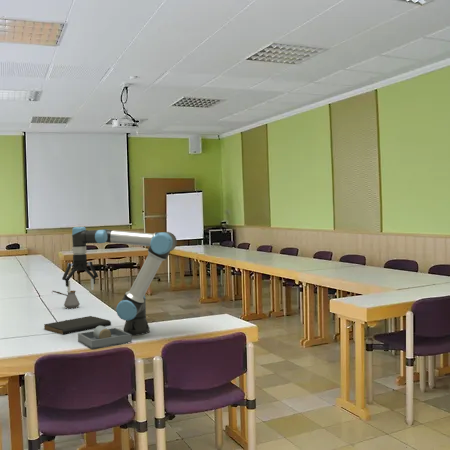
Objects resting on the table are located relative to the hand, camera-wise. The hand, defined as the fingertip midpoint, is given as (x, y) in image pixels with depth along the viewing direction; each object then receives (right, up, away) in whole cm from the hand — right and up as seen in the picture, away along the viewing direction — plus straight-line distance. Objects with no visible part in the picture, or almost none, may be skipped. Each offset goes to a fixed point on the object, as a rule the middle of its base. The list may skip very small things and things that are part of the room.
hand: (80, 291), depth 297 cm
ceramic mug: (+16, -26, -12) cm, 33 cm away
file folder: (-10, -27, +29) cm, 41 cm away
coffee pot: (-39, -26, +98) cm, 109 cm away
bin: (+16, -27, -12) cm, 33 cm away
